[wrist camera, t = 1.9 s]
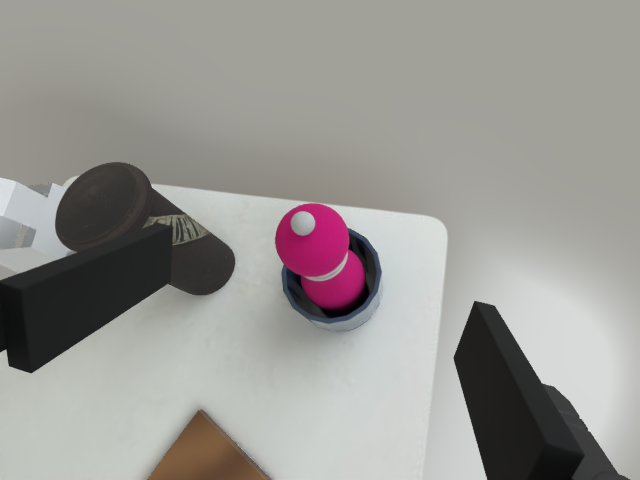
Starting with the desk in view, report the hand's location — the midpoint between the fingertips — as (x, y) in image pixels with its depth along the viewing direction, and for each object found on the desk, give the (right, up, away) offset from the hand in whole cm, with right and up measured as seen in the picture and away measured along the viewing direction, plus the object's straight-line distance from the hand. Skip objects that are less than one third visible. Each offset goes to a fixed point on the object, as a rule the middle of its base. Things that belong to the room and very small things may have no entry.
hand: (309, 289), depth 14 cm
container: (-15, -2, +33) cm, 36 cm away
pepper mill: (+3, -4, +28) cm, 28 cm away
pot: (+3, -4, +28) cm, 28 cm away
